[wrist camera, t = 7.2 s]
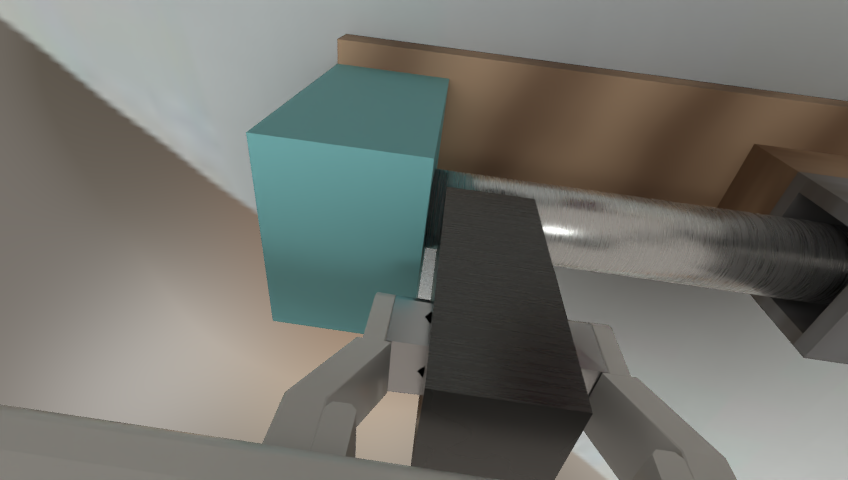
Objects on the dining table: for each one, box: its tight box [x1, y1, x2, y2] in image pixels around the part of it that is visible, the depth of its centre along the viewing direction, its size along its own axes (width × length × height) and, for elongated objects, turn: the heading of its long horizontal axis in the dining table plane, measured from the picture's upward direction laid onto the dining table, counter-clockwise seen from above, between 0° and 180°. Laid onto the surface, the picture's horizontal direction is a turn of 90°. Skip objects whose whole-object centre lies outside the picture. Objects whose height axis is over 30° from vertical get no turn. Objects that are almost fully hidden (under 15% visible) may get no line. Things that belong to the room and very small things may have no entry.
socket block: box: [246, 64, 449, 334], centre depth 16 cm, size 5×7×9 cm
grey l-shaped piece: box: [411, 169, 848, 480], centre depth 12 cm, size 18×3×10 cm, turn 84°
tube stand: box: [337, 34, 848, 364], centre depth 17 cm, size 32×9×10 cm, turn 84°
